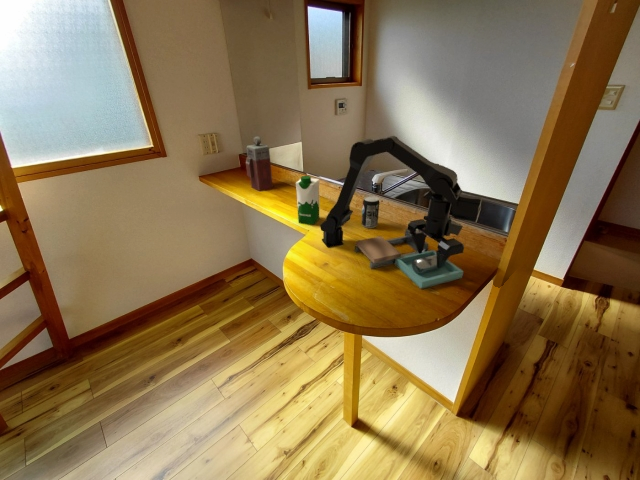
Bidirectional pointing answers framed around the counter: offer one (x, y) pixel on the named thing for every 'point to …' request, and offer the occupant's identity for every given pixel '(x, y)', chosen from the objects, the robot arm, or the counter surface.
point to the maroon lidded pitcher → (259, 165)
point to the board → (378, 249)
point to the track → (394, 241)
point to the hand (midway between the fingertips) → (429, 260)
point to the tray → (430, 277)
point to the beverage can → (370, 212)
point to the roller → (425, 264)
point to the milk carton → (308, 200)
